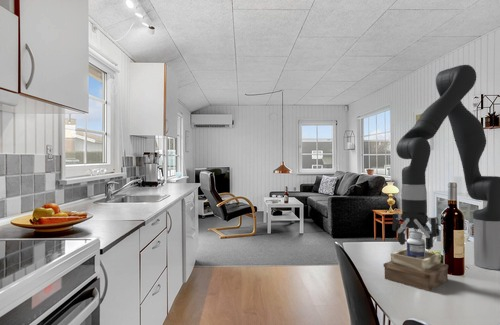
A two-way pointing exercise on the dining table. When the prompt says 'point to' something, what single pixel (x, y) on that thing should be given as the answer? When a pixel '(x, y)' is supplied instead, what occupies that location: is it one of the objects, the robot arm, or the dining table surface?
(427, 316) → the dining table surface
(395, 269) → the box
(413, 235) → the pill bottle
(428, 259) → the top crate
